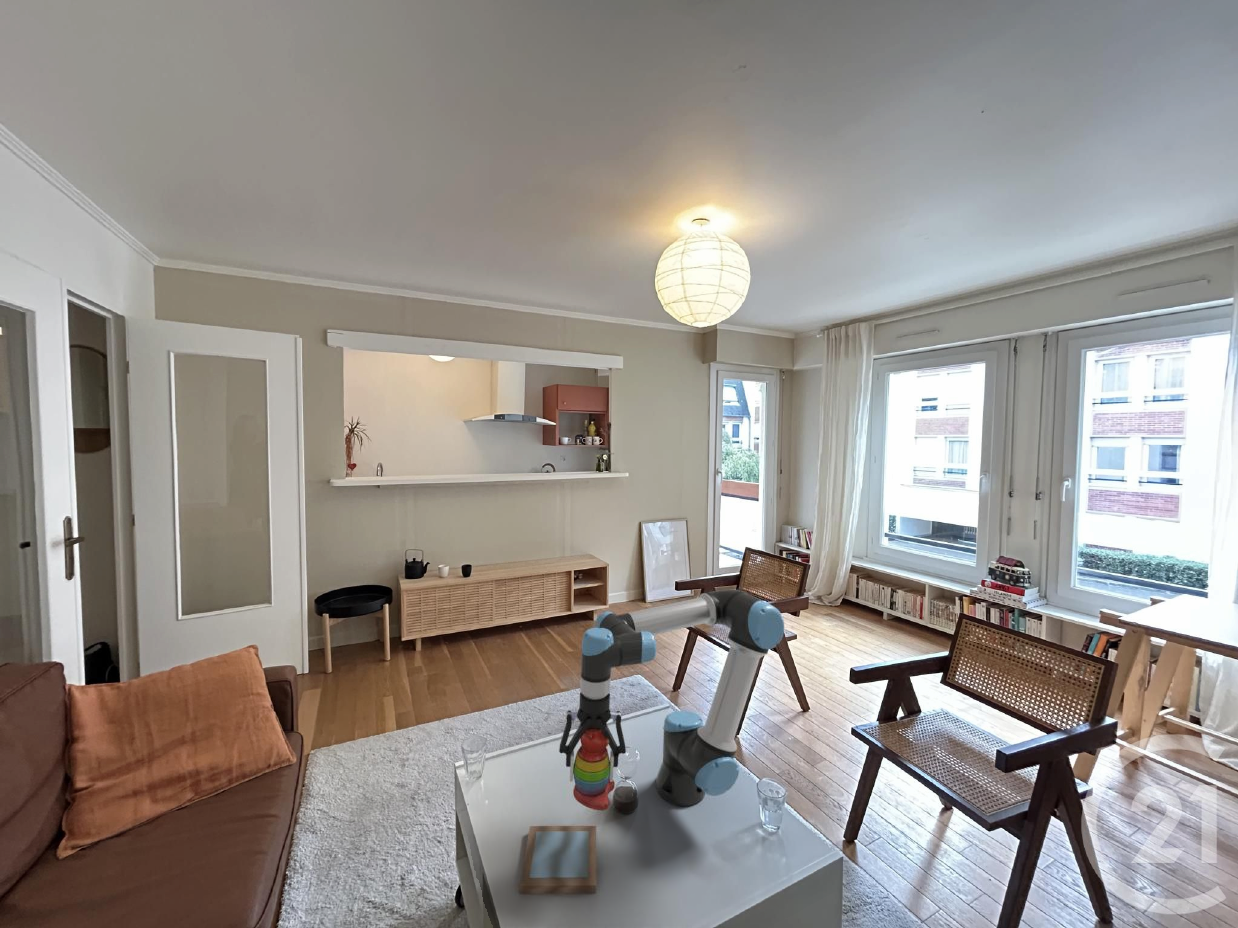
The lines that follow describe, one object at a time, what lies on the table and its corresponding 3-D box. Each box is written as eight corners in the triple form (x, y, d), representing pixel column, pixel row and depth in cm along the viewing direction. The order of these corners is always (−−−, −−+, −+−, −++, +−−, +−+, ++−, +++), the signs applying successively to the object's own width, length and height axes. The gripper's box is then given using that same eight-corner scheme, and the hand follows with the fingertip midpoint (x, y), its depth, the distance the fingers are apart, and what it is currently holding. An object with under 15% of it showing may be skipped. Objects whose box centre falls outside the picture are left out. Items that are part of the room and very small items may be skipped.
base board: (596, 832, 139) (596, 824, 139) (595, 892, 121) (596, 884, 121) (530, 832, 138) (530, 825, 138) (519, 893, 120) (519, 885, 120)
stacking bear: (607, 812, 123) (610, 741, 121) (567, 805, 124) (569, 735, 123) (616, 782, 133) (618, 716, 132) (578, 776, 135) (580, 711, 134)
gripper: (637, 685, 131) (633, 768, 133) (551, 683, 130) (548, 767, 132) (640, 700, 124) (635, 788, 125) (549, 699, 123) (546, 788, 124)
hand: (591, 777), depth 128 cm, fingers closed on stacking bear, 9 cm apart
